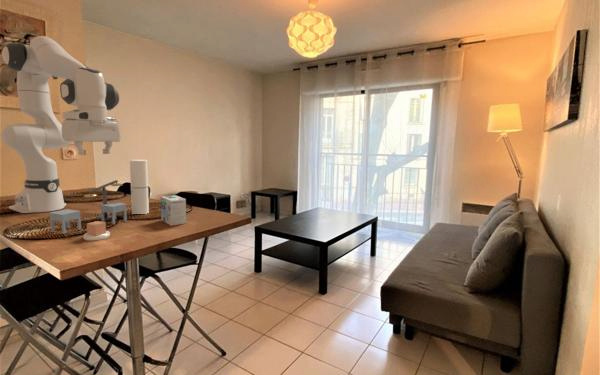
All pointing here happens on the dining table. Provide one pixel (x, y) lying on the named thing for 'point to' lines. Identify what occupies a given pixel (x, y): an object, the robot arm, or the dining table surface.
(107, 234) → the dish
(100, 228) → the block
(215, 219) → the dining table surface
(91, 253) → the dining table surface
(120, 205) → the cover high
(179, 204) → the light bulb box
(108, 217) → the balance
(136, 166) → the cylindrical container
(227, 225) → the dining table surface
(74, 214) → the cover low
